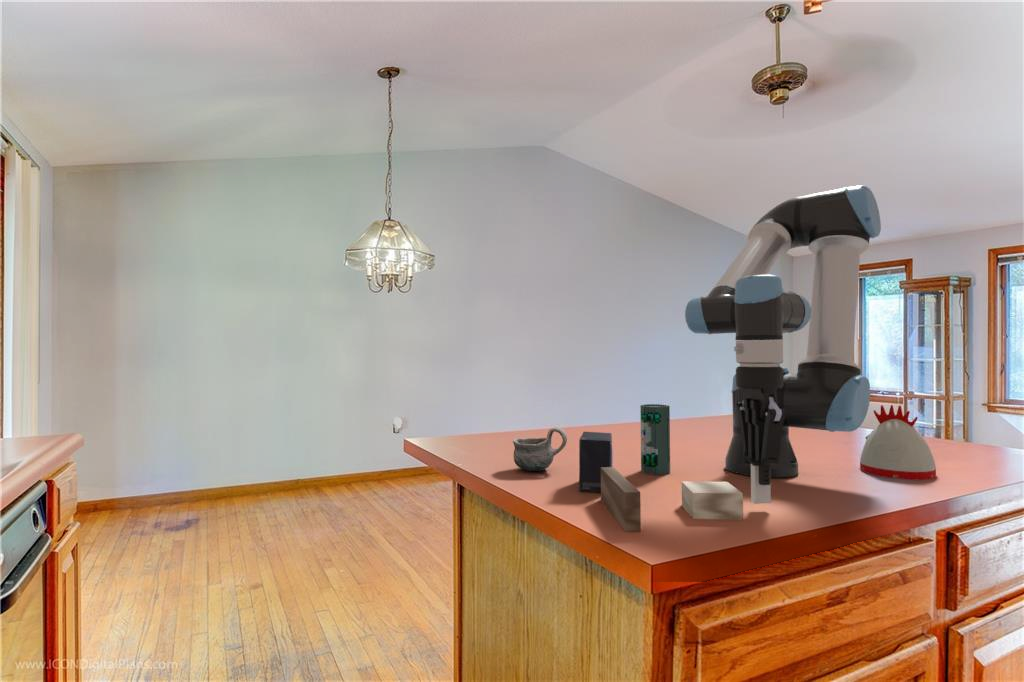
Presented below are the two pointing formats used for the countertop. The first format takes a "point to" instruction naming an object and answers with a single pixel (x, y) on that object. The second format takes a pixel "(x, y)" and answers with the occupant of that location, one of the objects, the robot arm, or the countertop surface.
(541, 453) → the mug
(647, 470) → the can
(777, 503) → the countertop surface
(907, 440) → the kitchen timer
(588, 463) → the small box
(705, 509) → the maple block
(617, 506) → the walnut board
